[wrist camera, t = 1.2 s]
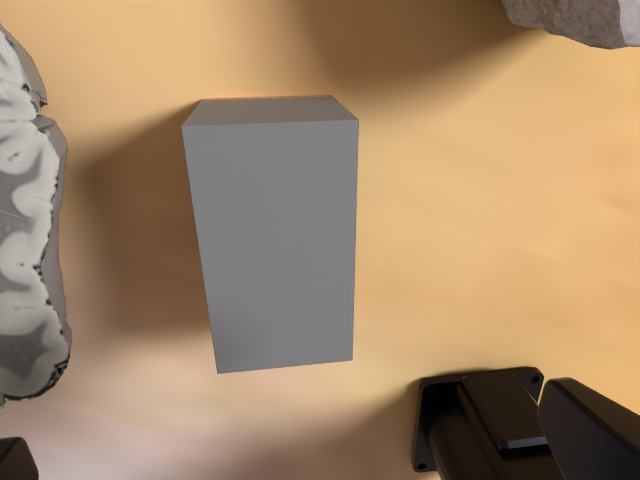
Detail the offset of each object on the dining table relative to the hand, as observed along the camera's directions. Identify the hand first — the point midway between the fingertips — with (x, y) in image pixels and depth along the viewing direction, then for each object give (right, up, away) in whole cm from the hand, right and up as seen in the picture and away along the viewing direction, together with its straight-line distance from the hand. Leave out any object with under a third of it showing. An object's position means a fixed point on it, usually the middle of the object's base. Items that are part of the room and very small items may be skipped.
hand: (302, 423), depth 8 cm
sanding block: (-2, +5, +10) cm, 11 cm away
